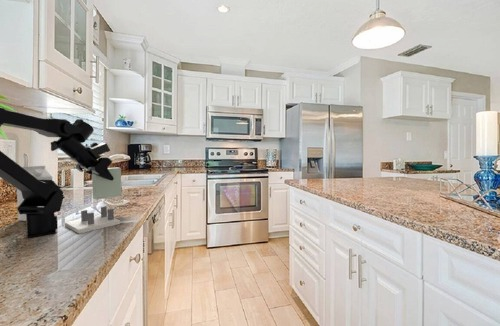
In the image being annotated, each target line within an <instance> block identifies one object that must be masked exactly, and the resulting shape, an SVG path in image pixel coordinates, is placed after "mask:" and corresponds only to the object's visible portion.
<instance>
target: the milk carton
mask: <svg viewBox="0 0 500 326" xmlns="http://www.w3.org/2000/svg"><path fill="white" fill-rule="evenodd" d="M21 167H22V168H24V169H25V170H26V171H27V172H29V173H30V174H31V175H33V176H34V177H35V178H37V179H38V180H52V181H53V176H52V174H51V173H50V172H49V171H48V170H47V169H46V165H32V166H21ZM16 198H17V200H16V202H17V208H18V207H19V205H20V204H21V203H22V202H23V200H24V199H23V197H22V192H21V191H20V190H19V189H17V188H16ZM37 207H44V206H37ZM17 217H18V221H24V222H27V219H26V214H19V211H18V210H17Z"/></svg>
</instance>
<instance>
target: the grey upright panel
mask: <svg viewBox="0 0 500 326" xmlns="http://www.w3.org/2000/svg"><path fill="white" fill-rule="evenodd" d="M107 168H108V170H109V172H110V173H111V175H112V176H113V178H114V179H113V180H112V181H111V180H108V179H105V178H103V177H100V176H97V175H94V174H93V173H94V172H92V175H91V177H92V179H91V181H92V182H91V183H92V199H94V200H102V199H110V198H114V197H115V198H116V197H121V196H122V191H123V188H122V168H121V167H107Z"/></svg>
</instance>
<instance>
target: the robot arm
mask: <svg viewBox="0 0 500 326" xmlns="http://www.w3.org/2000/svg"><path fill="white" fill-rule="evenodd" d="M2 126H6V127H12V128H17V129H23V130H28V131H34V132H36V133H37V134H39V135H41V136H44V137H47V138H58V139H57V140H53V141H51V142H50V150H51V152H53V151H57V150H60V151H61V152H62V153H64V154H65V155H67V156H68V157H69V160H71V161H74V162H76V165H75V169H76V170H77V171H79V172H81V173H83V172H84V170H85V172H84V173H85V174H87V175H90V176H92V172H94V173H93V174H94V175H97V176H100V177H103V178H105V179H108V180H111V181H112V180H113V179H114V178H113V176H112V175H111V173H110V172H109V170H108V168H109V166H110V165H111V164H112V163H113V160H112V159H110V157H102V155H103V154H105V153H109V152H111V148H110V147H109V145H108V143H107V142H102V143H101V142H100V143H97V142H92V143H90V147H89V146H85V145H84V144H83V143H85V142H86V141H87V140H88V139H89V138H90V137H91V135H92V134H93V133H94V129H95V128H94V127H93V126H92V125H91V124H89V122H86V121H84V120H83V119H82V118H77V119H76V120H74V122H73V123H71V121H70V120H68V119H65V118H44V117H40V116H35V115H30V114H26V113H22V112H19V111H13V110H11V109H10V110H9V109H6V108H3V107H1V106H0V128H1V127H2ZM22 167H23V166H21V165H20V164H18V162H15V160H13V159H12V158H11V157H9V156H8V155H7V154H6V153H4V152H3V151H2V150H0V178H1V179H2V180H3V181H5V182H6V183H8V184H10V185H11V186H12V187H14V188H16V190H17V189H19V190H20V191H21V192H22V197H23V199H24V200H23V202H22V203H21V204H20V205H19V207H18V206H17V212H18V211H19V214H26V219H27V221H26V238H27V239H29V238H34V237H40V236H41V237H42V236H46V235H51V234H56V233H57V230H58V228H59V227H58V216H57V214H55V213H58V212H60V211H61V208H62V204H63V200H64V191H63V190H62V189H61V188H62V186H60V185H58V184H57V183H56V182H55V181H54V180H53V179H52V180H38V179H37V178H35V177H34V176H33V175H31V174H30V173H29V172H27V171H26V170H25V169H24V168H22ZM37 206H44V207H37Z"/></svg>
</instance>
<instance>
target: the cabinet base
mask: <svg viewBox="0 0 500 326" xmlns="http://www.w3.org/2000/svg"><path fill="white" fill-rule="evenodd" d="M114 214H115V213H114V208H109V209H107V206H100V215H95V213H94V212H88V210H87V209H83V210H80V218H79V219H76V220H75V219H74V220H70V221H65V222H64V226H65V227H66V228H67V229H70V230H72V231H74V232H75V233H77V234H78V233H79V234H82V233H81V232H83V233H87V231H88V232H91V230H92V231H96V230H99V229H103V228H109V227H112V226H116V225H121V220H120V219H117V218H115V215H114Z"/></svg>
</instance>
